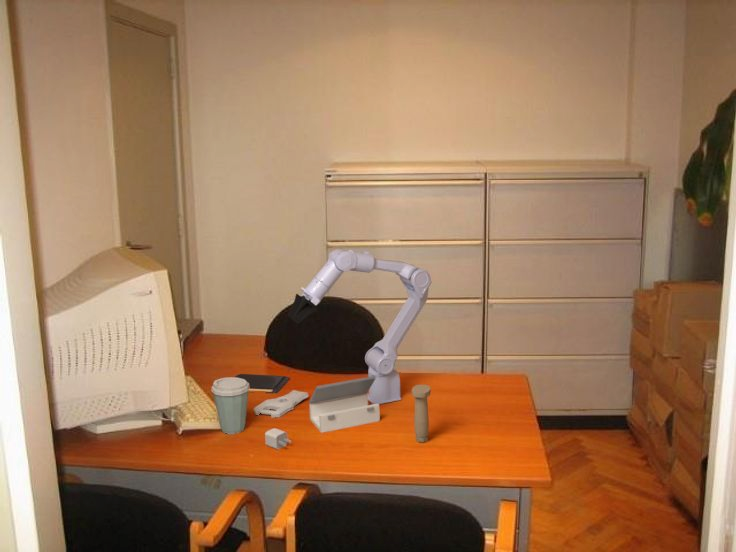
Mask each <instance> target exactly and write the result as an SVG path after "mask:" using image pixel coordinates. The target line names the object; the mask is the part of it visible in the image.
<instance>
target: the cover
mask: <svg viewBox="0 0 736 552" xmlns="http://www.w3.org/2000/svg"><path fill="white" fill-rule="evenodd" d="M375 379H376V377H375V376H371V377H368V376H367V377H361V378H356V379H350V380H345V381H339V382H333V383H328V384H323V385H322V384H320V385H317V386H315V389H314V391H313V393H312V395H311V396H310V397H311V398H310V399H309V400H308V401H309V403H308V404H313V403H319V402H324V401H329V400H335V399H340V398H345V397H351V396H356V395H361V394H367V395H368V393H369V389H370V387H371V385H372V384H373V382H374V380H375Z"/></svg>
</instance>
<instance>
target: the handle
mask: <svg viewBox="0 0 736 552" xmlns="http://www.w3.org/2000/svg"><path fill="white" fill-rule="evenodd" d="M431 390H432V389H431V387H430V385H428V384H417V385H415V386H412V388H411V395H412V397H413V398H414V399H415V401H414V419H413V420H414V421H413V422H414V423H413V425H414V434H415V441H417V443H421V444H424V443H425V442H426V443H427V442H428V440H429V436H428V435H429V429H430V428H429V422H430V421H429V407H428V397H429V396H430V395H431Z"/></svg>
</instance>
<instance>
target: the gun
mask: <svg viewBox="0 0 736 552" xmlns="http://www.w3.org/2000/svg"><path fill="white" fill-rule="evenodd" d="M309 396H310V395H309V393H308V392H306V391H299V390H296V389H293V390H291V391H290V392H289V393H286V394H285V395H283V396H278V397H276V398H270V399H266V400H264V401H263V402H261V403H259V404H258V405H256V406H255V407H254V408H253V413H254V412H255V413H254V414H255V415H258V416H260V415H261V414H262V415H270V418H272V419H274V418H275V417H276V418H281V417H283V416H284V415H286V413H288V412H290V411H292V410H294V409H295V408H294V407H296V406H297V405H298V404H300V403H301V402H302V401H303V400H305V399H307V398H309ZM270 409H271V410H270ZM260 413H261V414H260ZM259 414H260V415H259Z"/></svg>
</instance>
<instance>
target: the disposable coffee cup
mask: <svg viewBox="0 0 736 552" xmlns="http://www.w3.org/2000/svg"><path fill="white" fill-rule="evenodd" d="M249 387H250V386H249V383H248V382H247V381H246V380H244V379H241V378H236V377H235V376H234V377H232V376H230V377H221V378H219V379H215V380H214V381H213V383H212V386H211V392H212V395H213V399H214V404H215V409H216V413H217V418H218V422H219V427H220V429H221V432H222V433H223V434H225V433H227V434H226V435H236V434H235V433H237V434H240V433H242V432H244V430H245V426H246V421H247V420H246V419H247V410H248V400H249V392H248V391H249ZM241 431H242V432H241ZM239 432H240V433H239Z"/></svg>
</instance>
